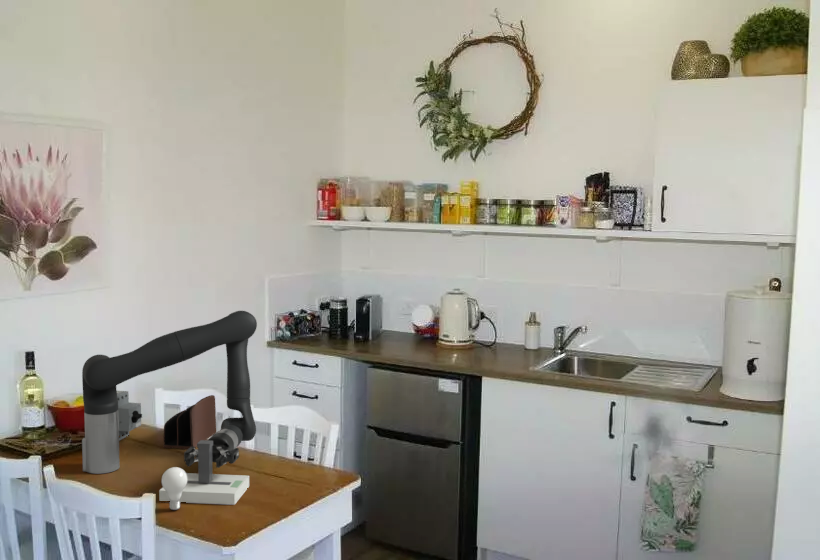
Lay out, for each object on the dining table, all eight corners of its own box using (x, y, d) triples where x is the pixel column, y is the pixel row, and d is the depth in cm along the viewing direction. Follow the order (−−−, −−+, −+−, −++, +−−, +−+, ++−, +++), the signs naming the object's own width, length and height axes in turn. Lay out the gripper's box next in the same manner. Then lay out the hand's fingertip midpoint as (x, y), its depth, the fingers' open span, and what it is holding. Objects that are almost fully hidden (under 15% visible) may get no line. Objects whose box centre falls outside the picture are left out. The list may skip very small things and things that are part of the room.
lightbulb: (164, 505, 211) (164, 463, 210) (189, 505, 212) (189, 463, 211) (159, 514, 205) (158, 472, 204) (185, 514, 206) (184, 471, 205)
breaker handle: (197, 483, 219) (197, 443, 217) (201, 479, 222) (200, 440, 220) (209, 483, 218) (209, 443, 217) (213, 479, 221) (213, 440, 220)
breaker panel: (159, 501, 214) (159, 490, 214) (178, 483, 228) (178, 472, 228) (234, 504, 213) (234, 493, 212) (249, 486, 226) (249, 475, 226)
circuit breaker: (134, 443, 264) (133, 397, 263) (94, 440, 267) (93, 394, 266) (146, 436, 271) (145, 392, 270) (107, 433, 274) (106, 389, 273)
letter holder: (216, 432, 278) (216, 392, 276) (192, 450, 258) (192, 406, 257) (188, 431, 279) (188, 390, 278) (163, 448, 260) (162, 405, 258)
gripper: (197, 431, 234) (176, 448, 217) (246, 433, 233) (229, 450, 216) (197, 457, 234) (176, 476, 218) (246, 459, 233) (229, 478, 217)
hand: (202, 463), depth 217 cm, fingers open, 7 cm apart
